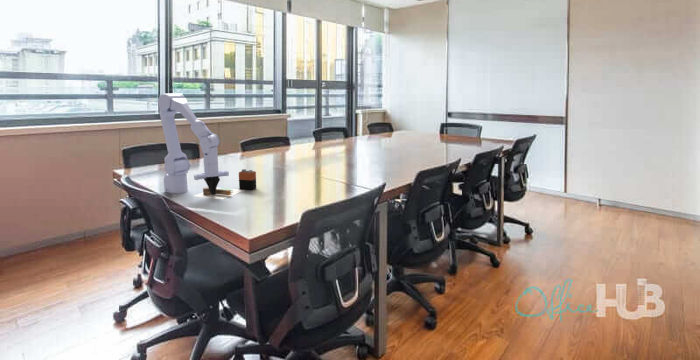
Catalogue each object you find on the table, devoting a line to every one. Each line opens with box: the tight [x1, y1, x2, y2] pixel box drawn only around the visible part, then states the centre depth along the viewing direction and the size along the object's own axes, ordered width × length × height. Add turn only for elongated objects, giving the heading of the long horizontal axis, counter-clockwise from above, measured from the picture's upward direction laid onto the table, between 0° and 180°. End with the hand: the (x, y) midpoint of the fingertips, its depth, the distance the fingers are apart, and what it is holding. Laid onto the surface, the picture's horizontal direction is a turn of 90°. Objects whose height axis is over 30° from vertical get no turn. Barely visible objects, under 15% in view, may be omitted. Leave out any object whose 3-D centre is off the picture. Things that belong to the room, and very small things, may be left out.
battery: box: [238, 168, 257, 191], centre depth 197 cm, size 4×7×10 cm, turn 77°
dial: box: [202, 186, 231, 195], centre depth 187 cm, size 13×5×2 cm, turn 73°
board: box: [194, 187, 245, 200], centre depth 190 cm, size 15×17×1 cm
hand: (212, 194), depth 184 cm, fingers closed
